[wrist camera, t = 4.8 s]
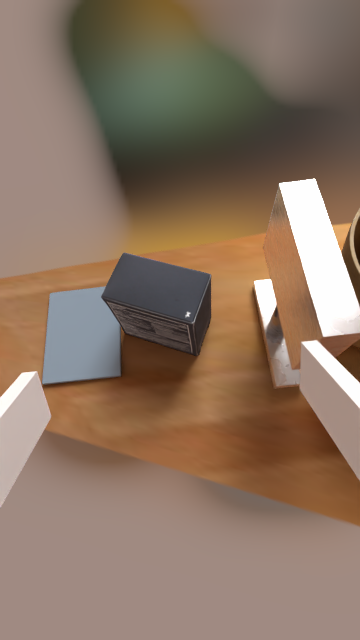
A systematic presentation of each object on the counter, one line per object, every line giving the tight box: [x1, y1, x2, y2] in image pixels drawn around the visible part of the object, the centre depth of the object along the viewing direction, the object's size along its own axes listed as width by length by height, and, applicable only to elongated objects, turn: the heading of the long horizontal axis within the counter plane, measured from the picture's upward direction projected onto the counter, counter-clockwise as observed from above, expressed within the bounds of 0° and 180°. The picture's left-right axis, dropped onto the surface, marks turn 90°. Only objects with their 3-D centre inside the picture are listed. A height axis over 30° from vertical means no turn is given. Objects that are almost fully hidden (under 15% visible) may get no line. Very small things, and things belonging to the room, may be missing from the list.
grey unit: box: [253, 179, 360, 389], centre depth 32 cm, size 4×14×18 cm, turn 5°
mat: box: [42, 287, 121, 385], centre depth 43 cm, size 10×13×1 cm
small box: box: [101, 253, 211, 356], centre depth 38 cm, size 11×6×10 cm, turn 71°
